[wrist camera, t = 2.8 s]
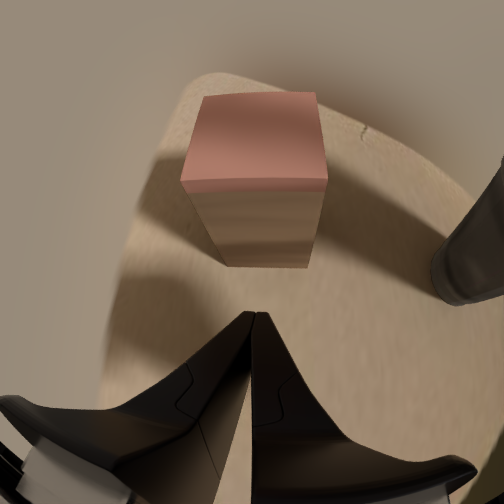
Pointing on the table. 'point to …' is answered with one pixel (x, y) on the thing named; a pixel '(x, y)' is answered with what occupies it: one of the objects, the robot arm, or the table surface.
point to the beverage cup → (474, 251)
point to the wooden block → (258, 176)
